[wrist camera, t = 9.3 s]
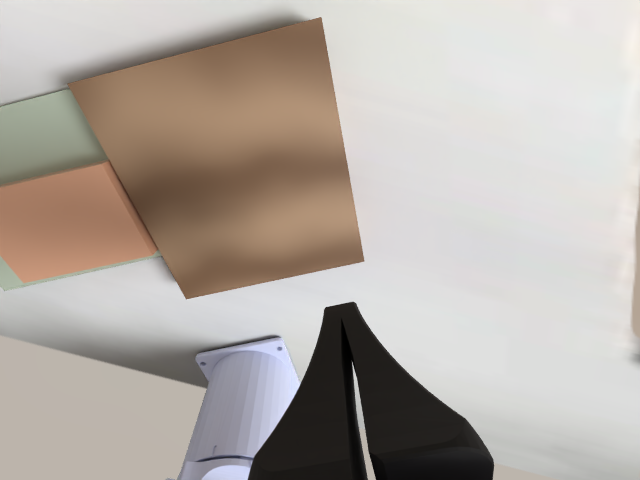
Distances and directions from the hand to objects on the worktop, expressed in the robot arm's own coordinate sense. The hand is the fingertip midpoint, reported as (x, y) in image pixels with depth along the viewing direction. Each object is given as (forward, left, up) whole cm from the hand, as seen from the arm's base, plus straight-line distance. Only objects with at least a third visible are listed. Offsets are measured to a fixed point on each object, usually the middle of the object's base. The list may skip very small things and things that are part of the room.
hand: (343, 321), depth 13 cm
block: (+5, +5, -9) cm, 12 cm away
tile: (+5, +16, -9) cm, 19 cm away
